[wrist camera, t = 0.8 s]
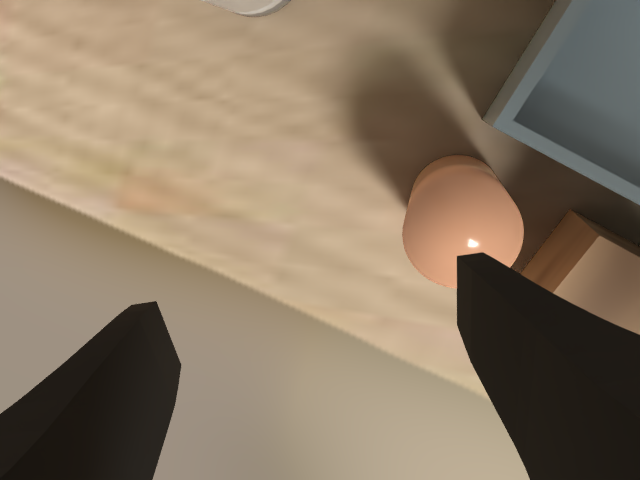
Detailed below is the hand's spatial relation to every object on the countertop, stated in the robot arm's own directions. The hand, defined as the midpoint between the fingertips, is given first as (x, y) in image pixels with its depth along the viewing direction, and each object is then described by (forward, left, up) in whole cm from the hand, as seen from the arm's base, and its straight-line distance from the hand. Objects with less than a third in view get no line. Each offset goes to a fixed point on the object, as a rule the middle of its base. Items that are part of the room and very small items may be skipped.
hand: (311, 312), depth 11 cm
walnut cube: (-12, -1, -17) cm, 21 cm away
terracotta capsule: (-4, -1, -17) cm, 18 cm away
